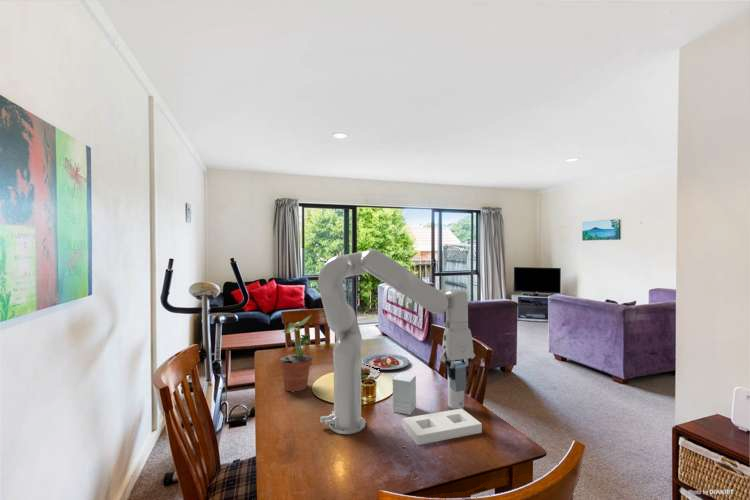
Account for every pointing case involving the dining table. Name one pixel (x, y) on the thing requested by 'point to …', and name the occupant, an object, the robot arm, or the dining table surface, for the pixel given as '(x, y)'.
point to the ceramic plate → (386, 361)
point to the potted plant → (296, 362)
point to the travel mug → (455, 397)
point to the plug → (459, 377)
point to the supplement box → (404, 393)
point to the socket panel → (441, 426)
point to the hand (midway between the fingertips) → (457, 377)
